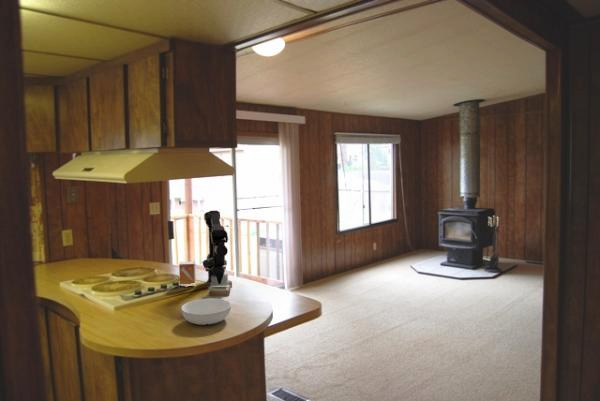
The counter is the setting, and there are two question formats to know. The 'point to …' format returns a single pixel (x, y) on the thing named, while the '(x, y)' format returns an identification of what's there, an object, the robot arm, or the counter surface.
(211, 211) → the robot arm
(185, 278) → the small box
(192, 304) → the serving bowl
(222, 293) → the stand
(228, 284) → the oak offcut
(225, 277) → the housing
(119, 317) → the counter surface
